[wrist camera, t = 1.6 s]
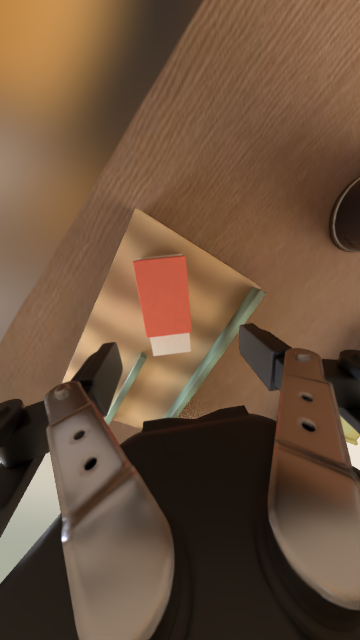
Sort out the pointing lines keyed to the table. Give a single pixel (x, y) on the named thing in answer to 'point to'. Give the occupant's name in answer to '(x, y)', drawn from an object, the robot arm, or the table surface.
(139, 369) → the wooden board with rails
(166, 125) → the table surface
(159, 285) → the salmon rectangular box
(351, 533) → the robot arm
